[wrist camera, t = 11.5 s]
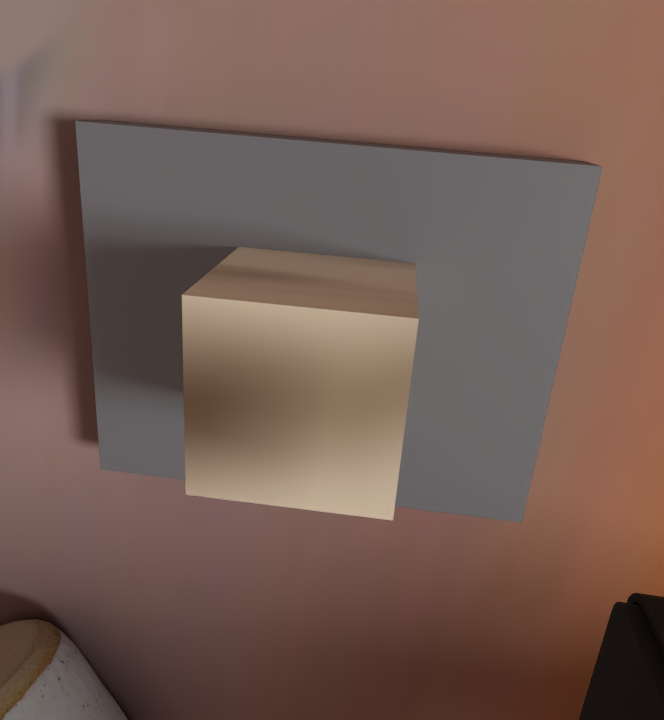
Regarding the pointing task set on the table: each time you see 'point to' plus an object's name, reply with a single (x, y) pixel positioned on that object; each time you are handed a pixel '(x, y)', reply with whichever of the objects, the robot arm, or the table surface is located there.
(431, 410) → the serving board
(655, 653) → the robot arm
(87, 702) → the ceramic mug
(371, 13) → the table surface
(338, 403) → the beech cube
